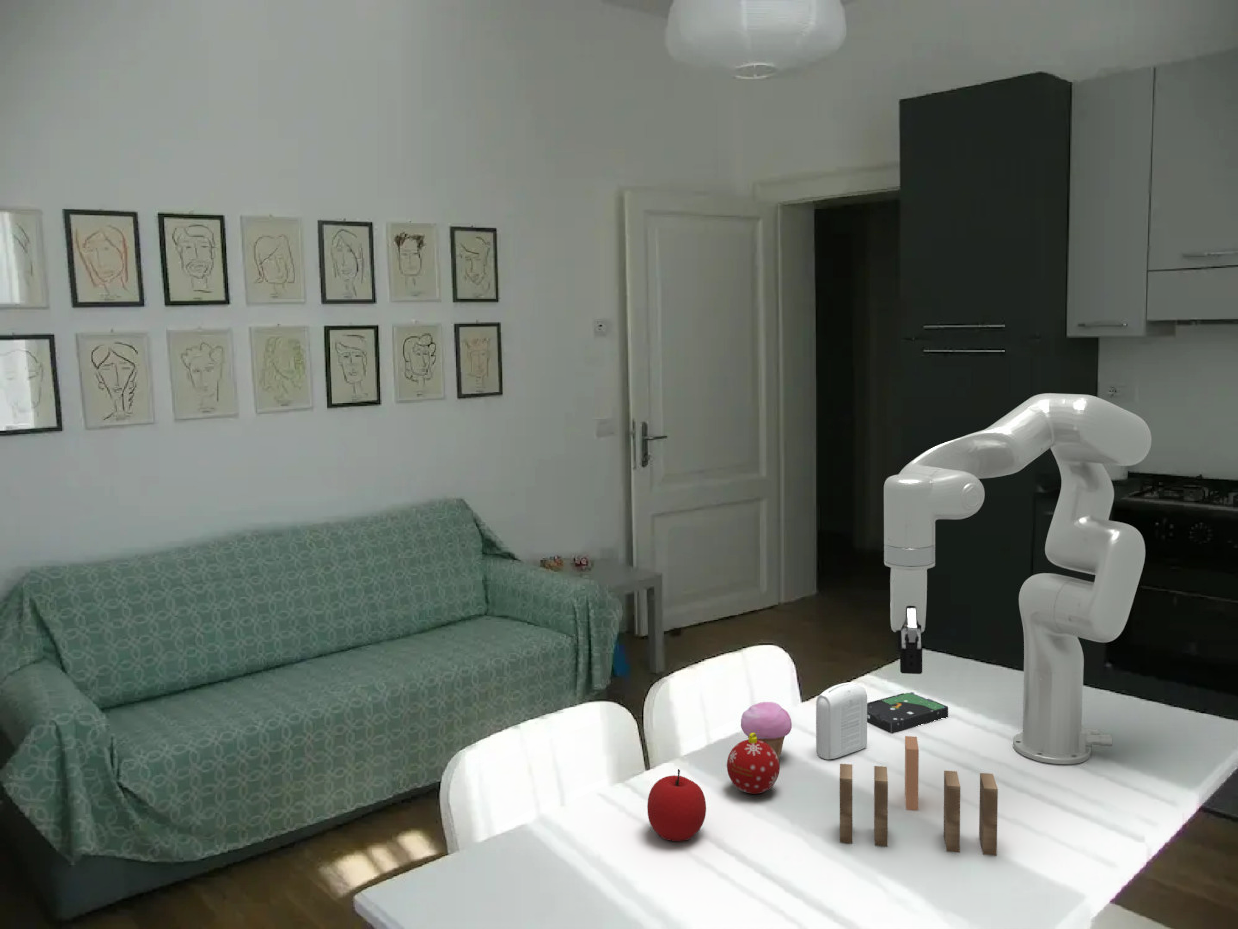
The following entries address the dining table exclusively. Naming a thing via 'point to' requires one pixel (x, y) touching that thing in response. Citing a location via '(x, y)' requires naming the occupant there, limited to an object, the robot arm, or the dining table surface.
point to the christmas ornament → (753, 765)
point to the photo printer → (841, 720)
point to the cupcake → (767, 724)
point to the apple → (676, 808)
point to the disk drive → (904, 712)
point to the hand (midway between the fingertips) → (909, 662)
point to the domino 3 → (911, 772)
